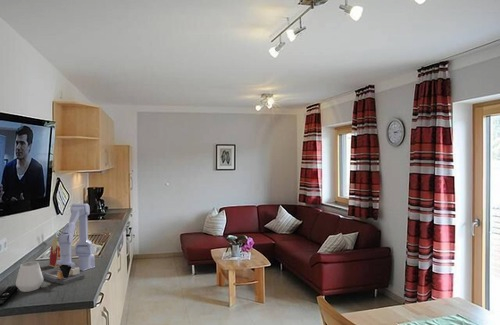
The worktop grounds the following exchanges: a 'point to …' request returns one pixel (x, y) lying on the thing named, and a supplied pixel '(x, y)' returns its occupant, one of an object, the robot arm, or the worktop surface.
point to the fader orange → (60, 275)
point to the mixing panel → (53, 277)
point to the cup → (29, 277)
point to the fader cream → (75, 271)
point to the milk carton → (54, 253)
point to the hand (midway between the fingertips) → (66, 277)
